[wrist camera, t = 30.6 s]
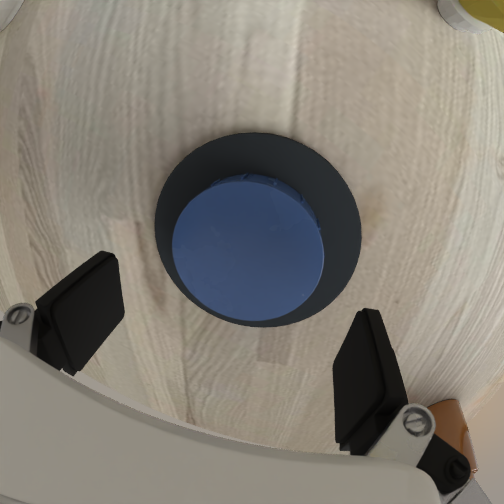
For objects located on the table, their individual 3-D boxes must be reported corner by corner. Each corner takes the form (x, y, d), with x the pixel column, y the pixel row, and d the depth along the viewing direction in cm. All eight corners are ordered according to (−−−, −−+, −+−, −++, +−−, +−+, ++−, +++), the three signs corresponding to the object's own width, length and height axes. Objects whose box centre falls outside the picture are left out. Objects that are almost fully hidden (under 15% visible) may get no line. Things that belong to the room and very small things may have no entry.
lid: (191, 163, 12) (175, 169, 11) (336, 190, 12) (343, 200, 10) (183, 284, 16) (171, 303, 14) (302, 310, 15) (302, 333, 13)
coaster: (326, 334, 16) (327, 341, 16) (161, 299, 17) (157, 305, 17) (382, 159, 11) (386, 160, 11) (163, 123, 12) (158, 123, 12)
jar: (437, 428, 21) (450, 499, 12) (395, 433, 21) (403, 513, 12) (469, 397, 18) (493, 475, 9) (427, 401, 19) (447, 494, 9)
